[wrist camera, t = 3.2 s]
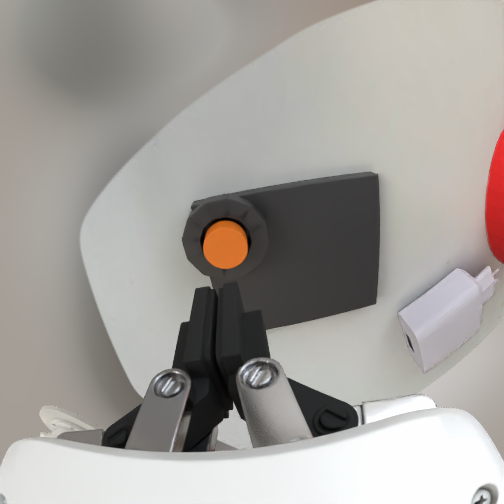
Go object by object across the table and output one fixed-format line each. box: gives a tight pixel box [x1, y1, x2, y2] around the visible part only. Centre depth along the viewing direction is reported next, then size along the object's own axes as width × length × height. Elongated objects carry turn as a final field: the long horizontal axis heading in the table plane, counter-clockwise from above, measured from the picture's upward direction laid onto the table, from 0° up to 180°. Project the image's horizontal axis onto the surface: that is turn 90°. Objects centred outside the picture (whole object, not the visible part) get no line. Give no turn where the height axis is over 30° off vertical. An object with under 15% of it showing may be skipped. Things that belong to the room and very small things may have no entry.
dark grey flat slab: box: [182, 172, 380, 330], centre depth 21 cm, size 15×12×3 cm
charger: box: [398, 266, 500, 374], centre depth 24 cm, size 5×9×15 cm
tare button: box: [203, 221, 248, 269], centre depth 18 cm, size 3×3×2 cm
